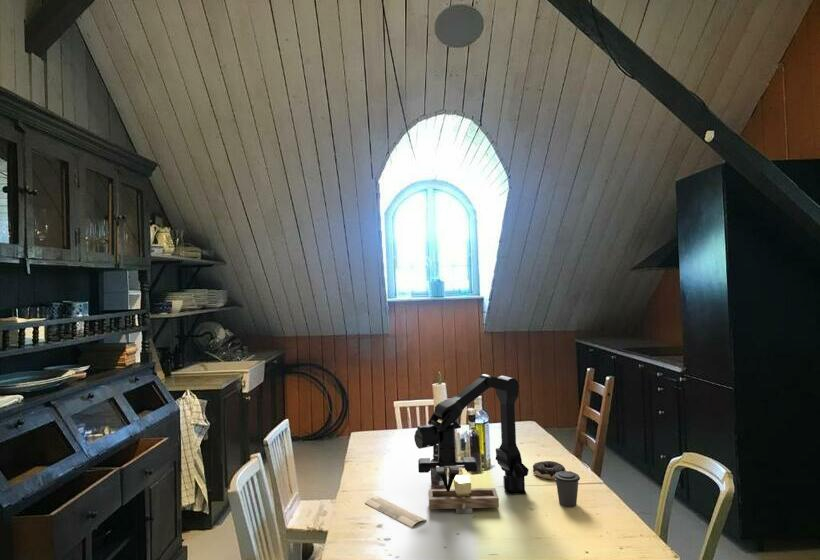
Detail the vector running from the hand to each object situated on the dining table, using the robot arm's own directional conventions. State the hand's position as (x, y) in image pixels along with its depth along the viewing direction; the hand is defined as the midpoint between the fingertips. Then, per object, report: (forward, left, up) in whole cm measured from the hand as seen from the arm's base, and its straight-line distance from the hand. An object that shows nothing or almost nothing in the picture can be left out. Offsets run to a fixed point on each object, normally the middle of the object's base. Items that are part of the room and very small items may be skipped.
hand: (448, 491), depth 164 cm
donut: (-39, -26, -6) cm, 47 cm away
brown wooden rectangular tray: (-5, 0, -5) cm, 7 cm away
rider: (-5, 0, -2) cm, 5 cm away
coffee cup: (-39, -1, -6) cm, 39 cm away
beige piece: (+18, +3, -6) cm, 19 cm away
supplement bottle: (+2, -18, -6) cm, 19 cm away
